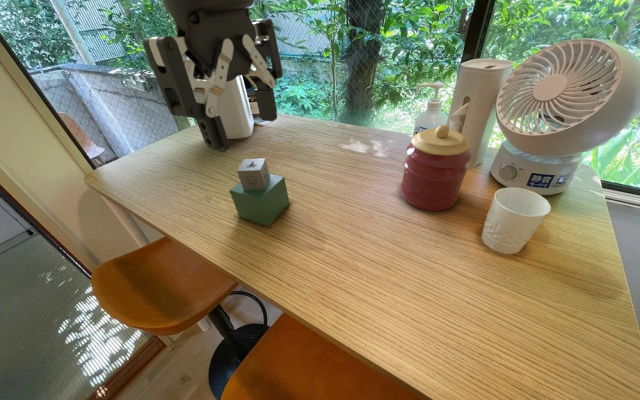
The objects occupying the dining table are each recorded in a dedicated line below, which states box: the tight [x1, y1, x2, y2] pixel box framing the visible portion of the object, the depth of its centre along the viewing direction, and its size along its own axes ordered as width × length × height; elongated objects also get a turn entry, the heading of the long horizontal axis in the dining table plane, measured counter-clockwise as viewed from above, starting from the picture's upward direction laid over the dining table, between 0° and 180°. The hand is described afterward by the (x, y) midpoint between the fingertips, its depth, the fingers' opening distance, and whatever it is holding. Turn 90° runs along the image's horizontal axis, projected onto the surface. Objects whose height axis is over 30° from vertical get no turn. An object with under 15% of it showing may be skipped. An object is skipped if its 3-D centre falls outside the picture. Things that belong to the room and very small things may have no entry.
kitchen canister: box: [400, 124, 473, 212], centre depth 56 cm, size 13×13×18 cm
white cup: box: [480, 186, 552, 255], centre depth 46 cm, size 8×8×10 cm
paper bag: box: [185, 56, 255, 140], centre depth 95 cm, size 19×15×28 cm
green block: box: [228, 173, 290, 227], centre depth 60 cm, size 9×9×8 cm
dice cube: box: [236, 157, 271, 190], centre depth 56 cm, size 5×5×5 cm
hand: (247, 133), depth 30 cm, fingers open, 8 cm apart
